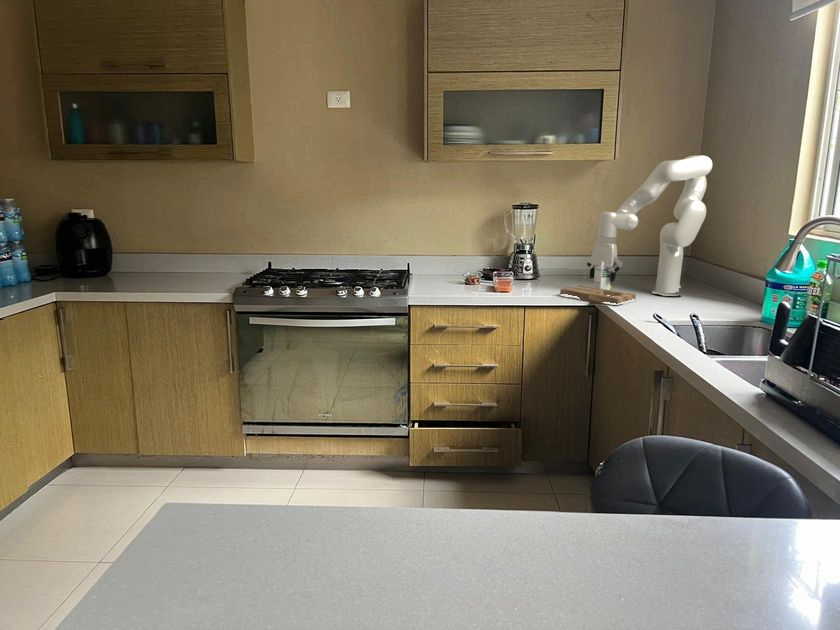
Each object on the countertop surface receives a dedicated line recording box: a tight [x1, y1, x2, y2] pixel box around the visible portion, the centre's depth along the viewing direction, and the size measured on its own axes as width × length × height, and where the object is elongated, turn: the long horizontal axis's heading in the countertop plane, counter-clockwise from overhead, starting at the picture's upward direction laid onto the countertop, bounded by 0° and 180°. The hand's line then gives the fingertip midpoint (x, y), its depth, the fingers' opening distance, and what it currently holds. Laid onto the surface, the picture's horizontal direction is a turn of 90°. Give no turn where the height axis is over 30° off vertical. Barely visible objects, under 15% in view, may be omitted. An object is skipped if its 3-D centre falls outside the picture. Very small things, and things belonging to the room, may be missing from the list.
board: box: [559, 284, 637, 305], centre depth 258 cm, size 16×26×3 cm, turn 45°
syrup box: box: [592, 261, 613, 290], centre depth 269 cm, size 6×6×14 cm
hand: (602, 279), depth 269 cm, fingers open, 9 cm apart
